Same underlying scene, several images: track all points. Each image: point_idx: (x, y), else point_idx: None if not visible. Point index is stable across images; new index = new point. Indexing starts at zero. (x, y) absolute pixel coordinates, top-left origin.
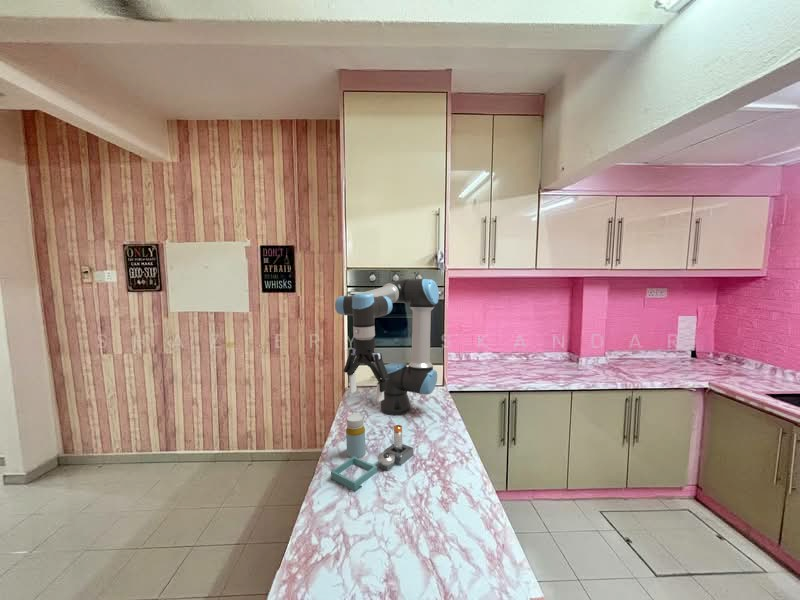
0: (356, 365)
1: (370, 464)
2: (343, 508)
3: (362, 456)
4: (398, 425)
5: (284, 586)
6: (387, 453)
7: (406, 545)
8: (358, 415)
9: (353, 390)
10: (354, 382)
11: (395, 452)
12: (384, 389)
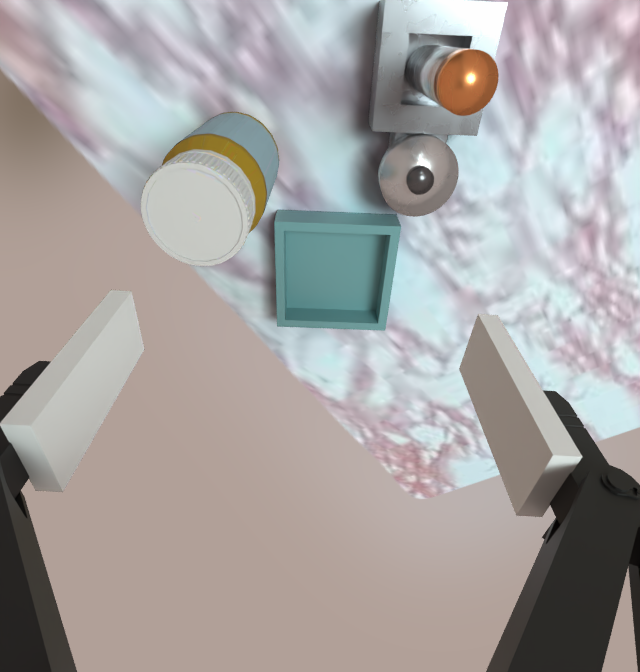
0: (70, 666)
1: (370, 229)
2: (394, 366)
3: (278, 164)
4: (464, 61)
5: (418, 495)
6: (422, 172)
7: (588, 375)
8: (180, 174)
9: (132, 336)
10: (94, 373)
11: (434, 110)
12: (568, 415)
